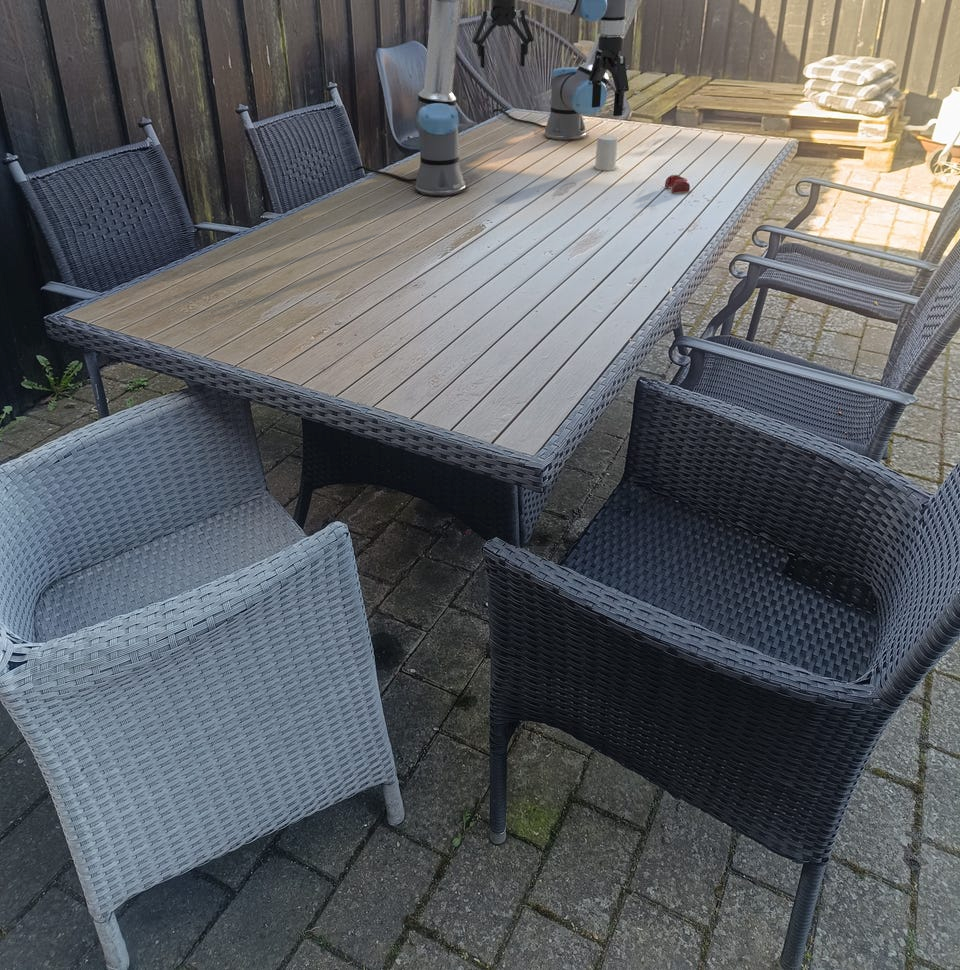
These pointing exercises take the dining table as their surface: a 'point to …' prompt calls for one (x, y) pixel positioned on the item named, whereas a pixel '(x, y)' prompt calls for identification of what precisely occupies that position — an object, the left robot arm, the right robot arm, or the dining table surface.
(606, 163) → the canister
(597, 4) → the left robot arm
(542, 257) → the dining table surface
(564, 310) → the dining table surface
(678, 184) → the dental model
